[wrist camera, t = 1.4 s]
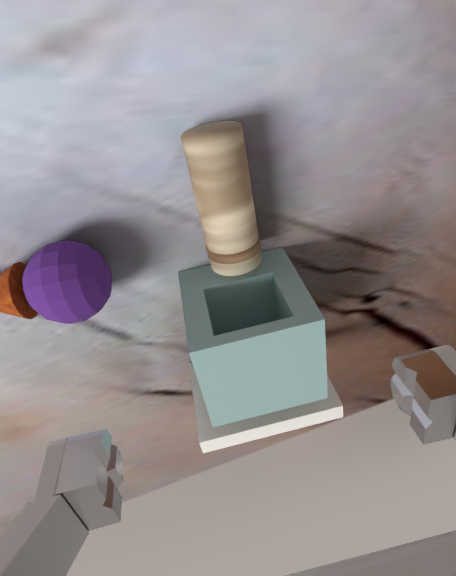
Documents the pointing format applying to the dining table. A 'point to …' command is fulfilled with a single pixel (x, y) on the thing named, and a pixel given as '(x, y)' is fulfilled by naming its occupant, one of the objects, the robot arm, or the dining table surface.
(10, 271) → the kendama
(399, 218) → the dining table surface
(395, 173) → the dining table surface
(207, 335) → the block
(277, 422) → the slab
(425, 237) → the dining table surface
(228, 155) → the dowel
